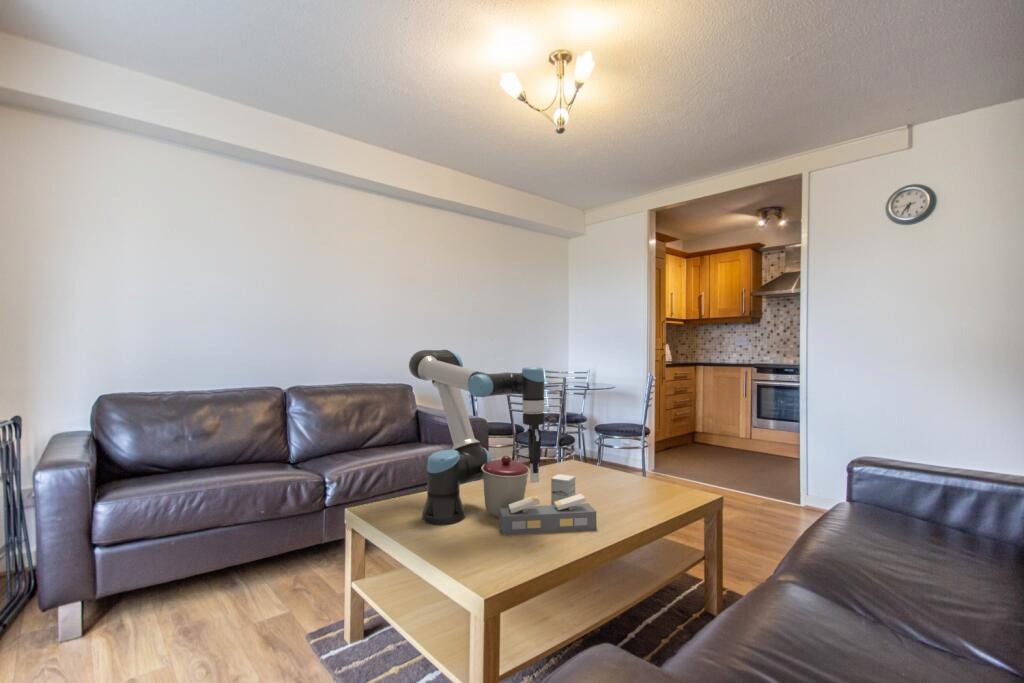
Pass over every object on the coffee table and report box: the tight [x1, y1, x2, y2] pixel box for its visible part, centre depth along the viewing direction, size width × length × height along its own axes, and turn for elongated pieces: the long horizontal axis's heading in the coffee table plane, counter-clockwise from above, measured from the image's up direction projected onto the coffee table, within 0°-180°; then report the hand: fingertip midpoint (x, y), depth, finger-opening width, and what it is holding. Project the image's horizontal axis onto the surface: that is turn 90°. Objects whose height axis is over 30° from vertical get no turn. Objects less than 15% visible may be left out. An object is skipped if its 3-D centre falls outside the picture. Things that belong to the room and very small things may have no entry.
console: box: [498, 502, 598, 536], centre depth 162 cm, size 32×9×8 cm, turn 98°
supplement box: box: [550, 473, 576, 505], centre depth 180 cm, size 7×7×13 cm
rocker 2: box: [554, 493, 587, 510], centre depth 163 cm, size 10×5×2 cm, turn 99°
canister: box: [481, 455, 530, 518], centre depth 176 cm, size 18×18×21 cm
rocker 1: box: [509, 494, 540, 513], centre depth 161 cm, size 10×5×2 cm, turn 99°
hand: (534, 481), depth 161 cm, fingers closed
